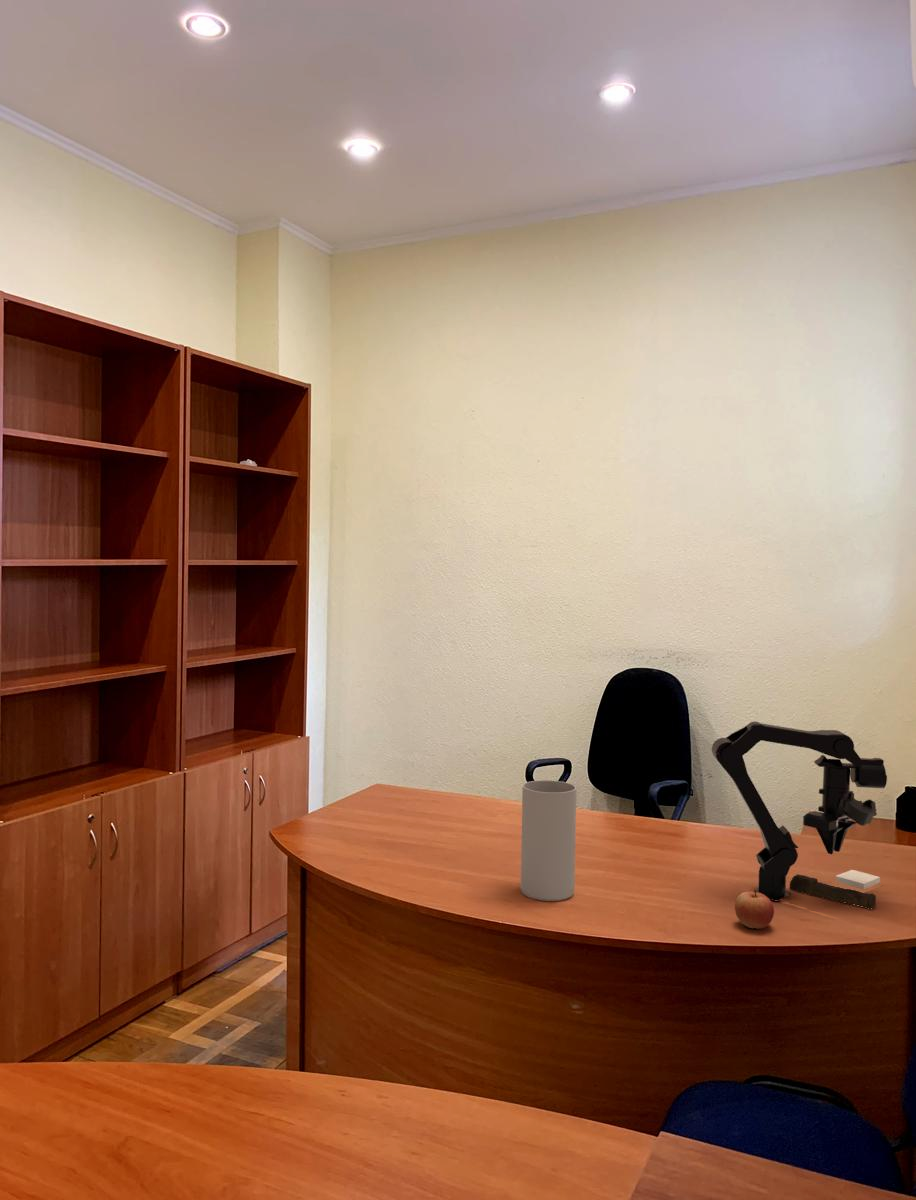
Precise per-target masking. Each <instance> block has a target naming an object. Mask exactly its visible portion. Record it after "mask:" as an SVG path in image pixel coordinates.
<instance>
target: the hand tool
mask: <svg viewBox="0 0 916 1200" xmlns="http://www.w3.org/2000/svg"><path fill="white" fill-rule="evenodd" d="M789 889H790V890H791V889H793V890H792V891H794V890H796V891H795V892H797V891H799V892H798V893H801V892H803V893H802V894H804V893H806V894H805V895H807V894H810V895H809V896H812V895H815V896H814V897H817V896H819V897H818V898H821V897H824V898H823V899H825V898H828V899H827V900H829V899H833V900H832V901H834V900H837V901H836V902H838V901H842V902H846V903H850V904H855V905H859V906H863V907H867V908H869V909H871V908H873V907H874V906H875V907H876V903H877V902H876V901H877V900H876V897H877V896H876V894H875V893H873V892H872V893H862V892H859V891H856V890H851V889H844V888H840V887H835V886H831V885H828V883H825V882H824V883H823V882H821V881H820V882H819V880H818V878H816V877H810V876H808V875H804V874H803V875H802V874H798V873H797V874H795V875H794V876H793V877H792V878H791V880H790V882H789ZM842 902H841V903H842ZM846 903H845V904H846ZM850 904H849V905H850ZM863 907H862V908H863ZM875 907H874V908H875ZM874 908H873V909H874Z"/></svg>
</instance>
